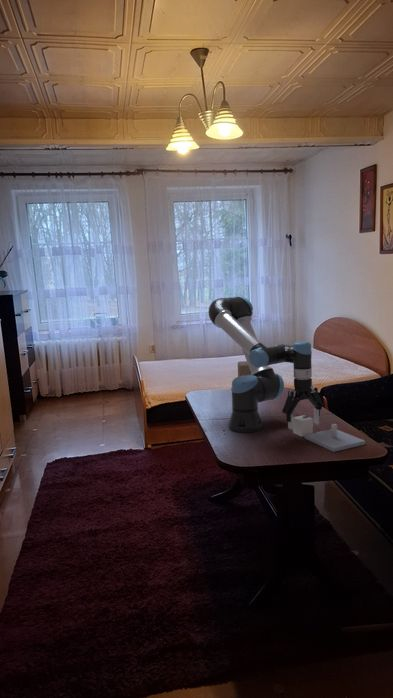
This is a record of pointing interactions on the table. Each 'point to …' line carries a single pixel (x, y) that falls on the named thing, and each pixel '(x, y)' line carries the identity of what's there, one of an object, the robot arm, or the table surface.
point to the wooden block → (243, 369)
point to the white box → (302, 425)
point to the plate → (334, 439)
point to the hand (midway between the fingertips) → (303, 426)
